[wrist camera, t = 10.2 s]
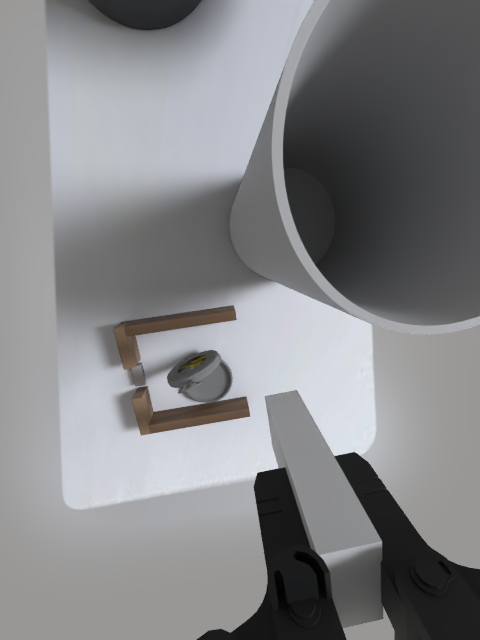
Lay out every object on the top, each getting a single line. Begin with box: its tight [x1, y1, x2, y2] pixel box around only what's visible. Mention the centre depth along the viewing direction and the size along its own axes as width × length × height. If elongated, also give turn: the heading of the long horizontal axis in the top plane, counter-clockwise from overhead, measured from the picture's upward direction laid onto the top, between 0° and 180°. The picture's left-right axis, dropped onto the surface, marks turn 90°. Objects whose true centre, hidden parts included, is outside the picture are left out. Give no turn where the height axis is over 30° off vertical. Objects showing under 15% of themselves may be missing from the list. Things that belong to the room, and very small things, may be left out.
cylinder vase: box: [229, 0, 480, 334], centre depth 21 cm, size 12×12×25 cm
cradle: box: [113, 306, 250, 435], centre depth 35 cm, size 14×14×3 cm
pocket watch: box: [167, 350, 232, 403], centre depth 32 cm, size 8×8×10 cm
